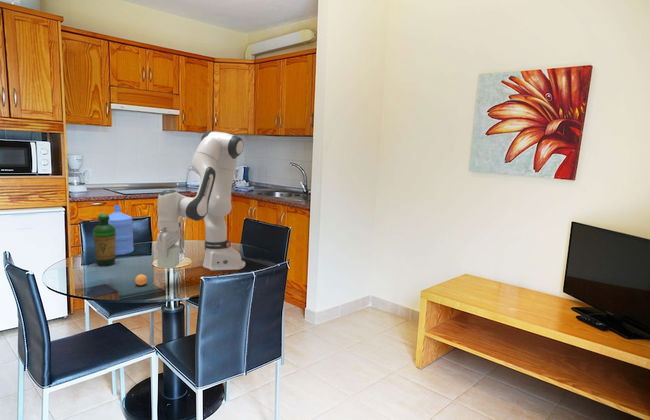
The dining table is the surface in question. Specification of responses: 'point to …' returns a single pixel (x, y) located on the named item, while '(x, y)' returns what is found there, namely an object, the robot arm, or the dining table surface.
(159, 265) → the beige rounded cube
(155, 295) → the dining table surface
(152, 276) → the dining table surface
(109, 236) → the bottle
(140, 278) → the ball
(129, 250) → the water jug
